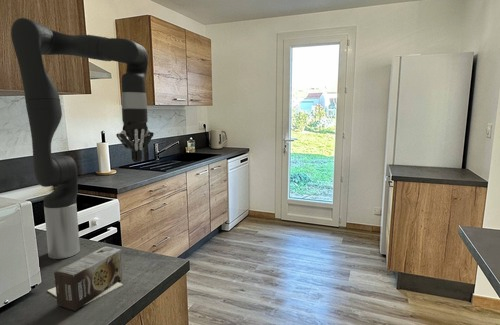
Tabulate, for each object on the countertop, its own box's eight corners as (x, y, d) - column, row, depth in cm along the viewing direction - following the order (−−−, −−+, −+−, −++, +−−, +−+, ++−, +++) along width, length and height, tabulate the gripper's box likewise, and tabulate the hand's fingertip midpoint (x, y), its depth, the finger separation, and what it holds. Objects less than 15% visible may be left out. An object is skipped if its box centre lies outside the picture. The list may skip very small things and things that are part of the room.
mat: (47, 291, 83) (47, 290, 83) (94, 271, 94) (94, 270, 94) (76, 309, 76) (76, 308, 76) (122, 285, 87) (122, 284, 87)
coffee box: (123, 278, 90) (76, 312, 74) (106, 274, 92) (56, 306, 77) (121, 248, 88) (72, 277, 73) (103, 245, 90) (52, 272, 75)
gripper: (144, 108, 106) (146, 158, 108) (108, 107, 95) (111, 163, 97) (159, 108, 102) (160, 160, 104) (123, 107, 91) (126, 165, 93)
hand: (136, 161), depth 101 cm, fingers closed
